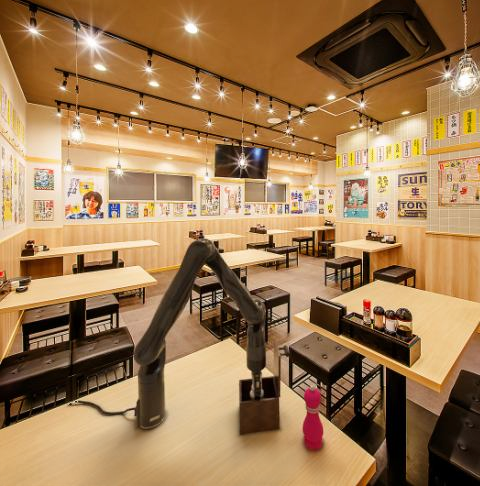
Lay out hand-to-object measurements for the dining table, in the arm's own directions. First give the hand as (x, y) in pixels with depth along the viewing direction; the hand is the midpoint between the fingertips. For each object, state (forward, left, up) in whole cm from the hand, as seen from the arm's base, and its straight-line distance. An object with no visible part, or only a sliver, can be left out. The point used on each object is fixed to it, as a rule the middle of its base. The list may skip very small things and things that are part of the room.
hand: (256, 396), depth 99 cm
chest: (+1, 0, -9) cm, 9 cm away
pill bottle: (0, 0, -6) cm, 6 cm away
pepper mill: (+19, -13, -9) cm, 24 cm away
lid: (+8, 0, +11) cm, 14 cm away
